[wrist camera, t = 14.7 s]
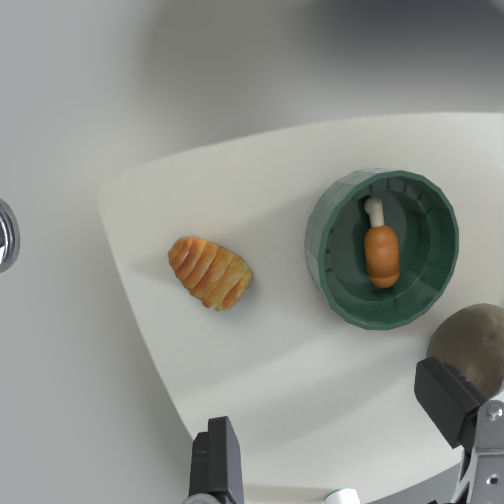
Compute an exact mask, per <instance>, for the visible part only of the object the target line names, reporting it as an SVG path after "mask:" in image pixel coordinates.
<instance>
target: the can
mask: <svg viewBox="0 0 504 504" xmlns="http://www.w3.org/2000/svg"><path fill="white" fill-rule="evenodd" d="M325 501H326V504H360V503H359V500H358V497H357V494H356V491H355V490H353V489H341V490H338V491H335V492H333V493H331V494H330V495H329V496H328V497H327V498H326V500H325Z"/></svg>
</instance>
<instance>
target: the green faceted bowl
mask: <svg viewBox="0 0 504 504" xmlns="http://www.w3.org/2000/svg"><path fill="white" fill-rule="evenodd" d="M369 197H377V198H379V199H380V200H381V201H382V204H383V217H384V225H387V226H389V227H391V228H392V229H393V230H394V232H395V233H396V235H397V239H398V249H399V263H400V275H399V278H398V280H397V281H396V283H395V284H394V285H392V286H391V287H388V288H378V287H376V286H374V285H373V284H372V283H371V282H370V280H369V278H368V274H367V266H366V257H365V248H364V237H365V234H366V232H367V231H368V230H369V229H370V228H371V223H370V216H369V214H367V213H366V211H365V209H364V203H365V201H366V199H368V198H369ZM305 251H306V258H307V264H308V269H309V270H310V272H311V274H312V276H313V278H314V280H315V282H316V284H317V286H318V288H319V289H320V291H321V292H322V294H323V295H324V297H325V299H326V300H327V302H328V303H329V305H330V306H331V308H332V309H333V310H334V311H335V312H336V313H338V314H339V315H340V316H341V317H342V318H343V319H344V320H345V321H346V322H348V323H350V324H353V325H355V326H358V327H361V328H363V329H366V330H390V329H393V328H397V327H400V326H403V325H406V324H409V323H410V322H412V321H413V320H415V319H416V318H418V317H419V316H421V315H422V314H424V313H425V312H426V311H428V310H429V309H430V307H431V306H432V305H433V304H434V303H435V302H436V301H437V300H438V299H439V297H440V296H441V295H442V294H443V292H444V290H445V288H446V286H447V285H448V283H449V281H450V279H451V277H452V275H453V272H454V268H455V265H456V261H457V257H458V253H459V228H458V224H457V221H456V217H455V214H454V210H453V207H452V205H451V204H450V202H449V201H448V199H447V198H446V196H445V195H444V193H443V192H442V190H441V189H440V188H439V187H438V186H436V185H435V184H434V183H432V182H431V181H430V180H428V179H427V178H425V177H424V176H422V175H418V174H415V173H411V172H407V171H403V170H394V169H380V168H375V169H368V170H360V171H355V172H353V173H351V174H349V175H348V176H346V177H344V178H342V179H340V180H338V181H336V182H335V183H334V184H333V185H332V186H331V187H330V188H329V190H328V191H327V192H326V193H325V194H324V195H323V196H322V197H321V198H320V199H319V201H318V203H317V205H316V207H315V209H314V211H313V213H312V215H311V217H310V219H309V222H308V227H307V234H306V240H305Z"/></svg>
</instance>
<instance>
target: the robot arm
mask: <svg viewBox="0 0 504 504" xmlns="http://www.w3.org/2000/svg"><path fill="white" fill-rule="evenodd" d="M9 246H10V238H9V231H8V227H7V224H6V222H5V220H4V218H3V216H2V215H1V213H0V264H2V263H3V262H4V261H5V259H6V258H7V255H8V252H9ZM414 392H415V396H416V398H417V400H418V402H419V403H420V404H421V406H422V407H423V408H424V410H425V411H426V413H427V414H428V415H429V417H430V418H431V419H432V421H433V422H434V424H435V425H436V426H437V428H438V429H439V431H440V432H441V433H442V435H443V436H444V438H445V439H446V440H447V442H448V443H449V445H450V446H451V448H452V449H454V448H456V447H458V446H460V445H462V446H463V448H464V449H463V452H462V458H461V464H460V470H459V476H458V480H457V485H456V489H455V492H454V494H453V497H452V499H451V502H450V503H446V504H504V403H503V402H501V401H499V400H490V401H489V400H488V399H487V398H486V397H485V396H484V395H483V394H482V393H481V392H480V391H479V390H478V388H477V387H476V386H475V385H474V384H473V383H472V382H471V381H469V380H468V378H467V377H466V376H465V375H463V373H462V372H461V371H460V370H459V369H458V368H457V367H456V366H453V365H451V364H449V363H447V362H446V363H443V364H442V363H441V362H440V361H439V360H438V359H437V358H436V357H435V356H431V357H429V358H427V359H424V360H422V361H420V362H418V363H417V366H416V376H415V385H414ZM190 474H191V475H190V488H189V495H188V498H187V499H185V501H184V502H183V503H182V504H244V497H243V484H242V471H241V457H240V447H239V443H238V440H237V437H236V435H235V432H234V430H233V427H232V425H231V423H230V420H229V418H228V416H224V417H218V418H212V419H209V421H208V432H200V433H198V435H197V437H196V438H195V440H194V442H193V448H192V463H191V473H190ZM428 504H437V502H436V500H434V501H432V502H430V503H428Z"/></svg>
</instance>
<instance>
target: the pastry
mask: <svg viewBox="0 0 504 504" xmlns="http://www.w3.org/2000/svg"><path fill="white" fill-rule="evenodd" d="M168 256H169V263H170V265H171V267H172V268H173V270H174V271H175V275H176V277H177V278H179V280H180V281H181V282H182V284H183V286H184V287H185V288H187V289H188V290H189V293H190V294H191V295H192V296H194V297H196V298H198V299H200V300H201V301H202V303H203V305H204V306H205V307H207V308H214V309H216V310H217V311H219V312H225V311H227V310H229V309H230V308H231V307H232V306H234V305H235V304H236V303H237V302H238V301H239V300H240V298H241V297H242V295H243V293H244V292H245V291H246V290H247V288H248V286H249V284H250V283H251V281H252V278H253V274H252V272H251V270H250V269H249V267H248V266H247V265H246V263H245V261H244V260H243V259H242V258H241V257H239V256H237V255H236V254H234V253H232V252H230V251H228V250H227V249H225V248H223V247H221V246H218V245H216V244H213V243H211V242H208V241H205V240H203V239H200V238H197V237H183V238H180V239H179V240H178V241H177V242H176V243H175V244H174V246H173V247H172V249H171V250H170V251H169V253H168Z"/></svg>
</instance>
